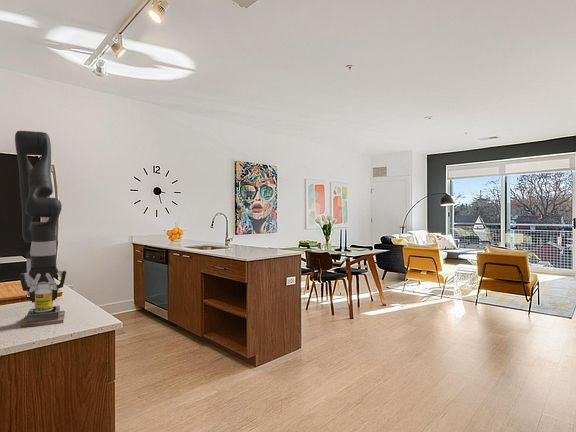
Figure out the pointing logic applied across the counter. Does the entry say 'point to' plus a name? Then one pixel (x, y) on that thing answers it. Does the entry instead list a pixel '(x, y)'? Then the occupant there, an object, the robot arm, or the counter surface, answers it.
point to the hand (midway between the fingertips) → (43, 300)
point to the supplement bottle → (43, 297)
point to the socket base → (43, 317)
